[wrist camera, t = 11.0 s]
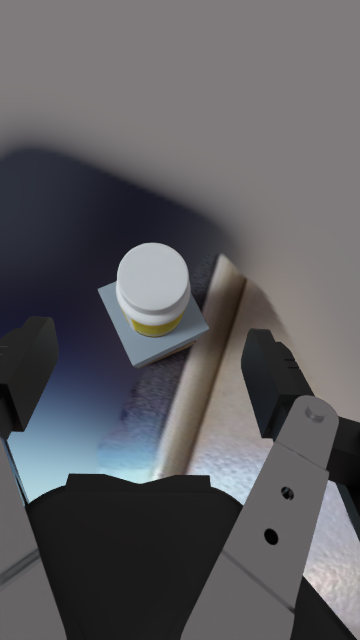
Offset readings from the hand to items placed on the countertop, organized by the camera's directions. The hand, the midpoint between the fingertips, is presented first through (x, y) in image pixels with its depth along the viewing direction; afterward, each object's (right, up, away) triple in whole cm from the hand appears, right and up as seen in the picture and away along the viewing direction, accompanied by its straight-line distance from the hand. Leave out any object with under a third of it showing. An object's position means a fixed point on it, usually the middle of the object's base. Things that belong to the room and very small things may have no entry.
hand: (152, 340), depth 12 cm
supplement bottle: (-1, +2, +12) cm, 12 cm away
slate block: (-2, 0, +19) cm, 19 cm away
